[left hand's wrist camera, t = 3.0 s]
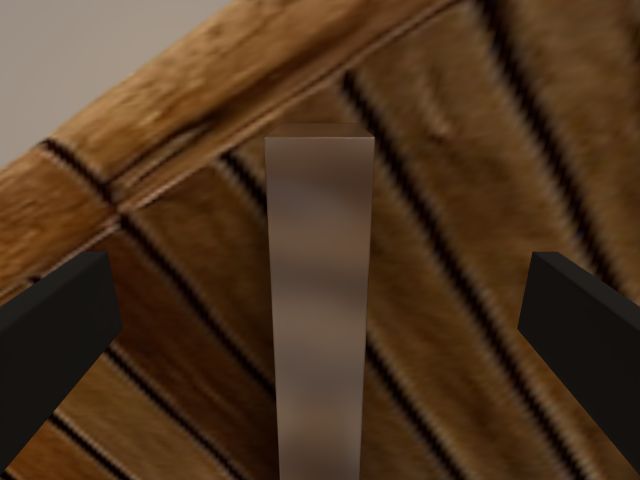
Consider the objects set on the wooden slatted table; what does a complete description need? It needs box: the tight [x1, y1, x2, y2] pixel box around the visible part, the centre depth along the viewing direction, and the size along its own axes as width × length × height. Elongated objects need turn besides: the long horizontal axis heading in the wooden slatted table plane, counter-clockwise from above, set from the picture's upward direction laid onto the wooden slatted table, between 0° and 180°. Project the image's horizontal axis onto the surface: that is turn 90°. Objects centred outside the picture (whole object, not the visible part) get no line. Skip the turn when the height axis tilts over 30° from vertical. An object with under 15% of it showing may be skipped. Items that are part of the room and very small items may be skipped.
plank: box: [264, 123, 375, 480], centre depth 29 cm, size 47×5×8 cm, turn 0°
